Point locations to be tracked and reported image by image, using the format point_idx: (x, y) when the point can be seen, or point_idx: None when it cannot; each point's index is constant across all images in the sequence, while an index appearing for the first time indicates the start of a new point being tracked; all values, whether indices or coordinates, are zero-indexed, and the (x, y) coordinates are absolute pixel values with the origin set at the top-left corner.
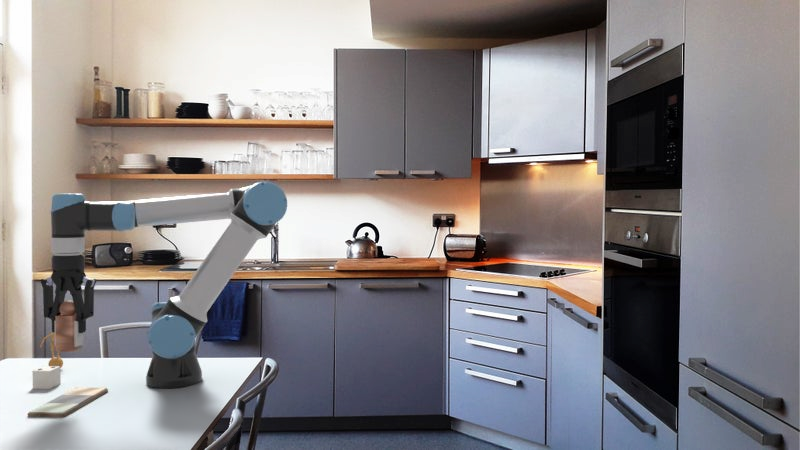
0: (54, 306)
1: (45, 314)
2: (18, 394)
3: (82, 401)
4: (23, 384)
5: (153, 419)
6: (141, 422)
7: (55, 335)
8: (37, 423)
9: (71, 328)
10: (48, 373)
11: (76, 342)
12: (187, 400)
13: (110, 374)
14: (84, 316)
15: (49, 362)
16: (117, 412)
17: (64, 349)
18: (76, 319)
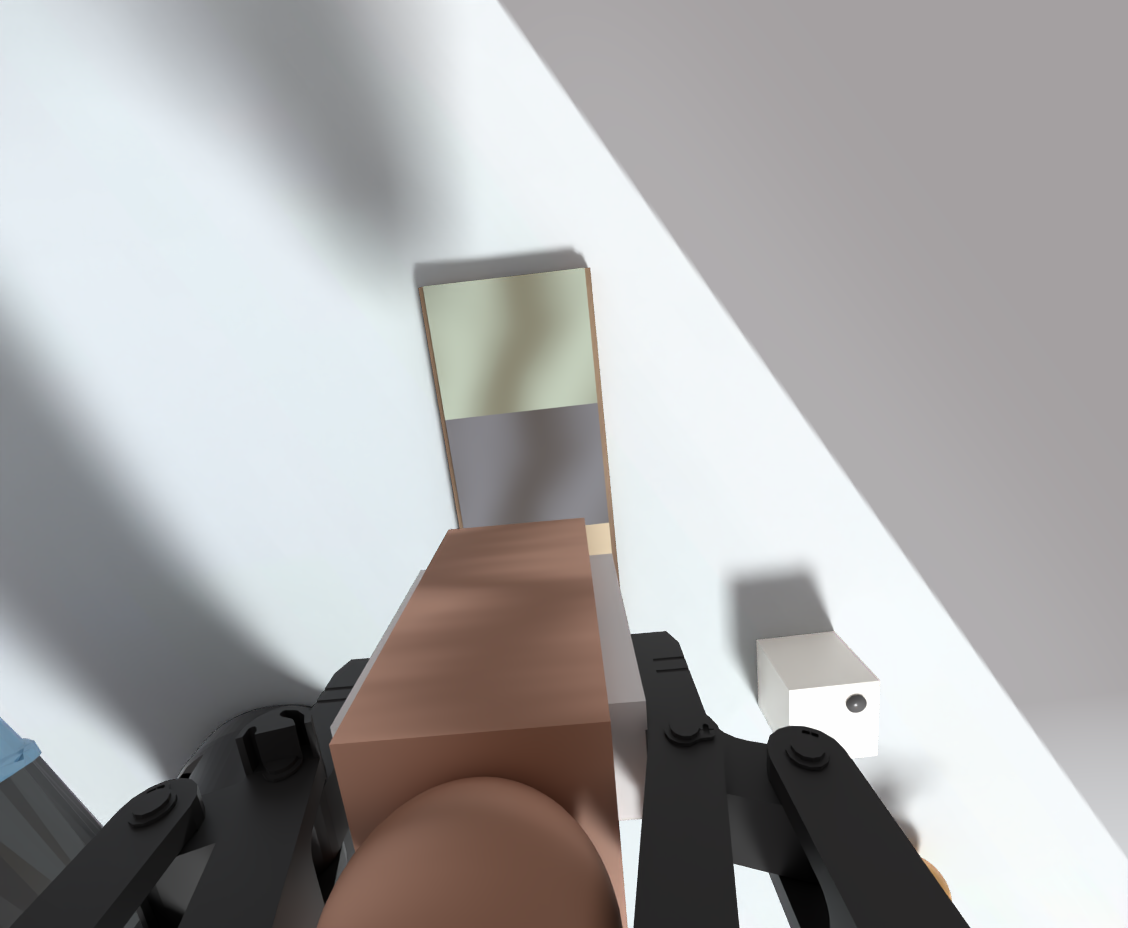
0: (705, 924)
1: (816, 756)
2: (840, 547)
3: (450, 450)
4: (909, 672)
5: (16, 322)
6: (36, 276)
7: (614, 599)
8: (479, 188)
9: (399, 630)
10: (792, 681)
11: (416, 586)
12: (66, 580)
13: (631, 841)
14: (189, 800)
15: (940, 881)
16: (240, 387)
17: (511, 530)
18: (305, 729)
